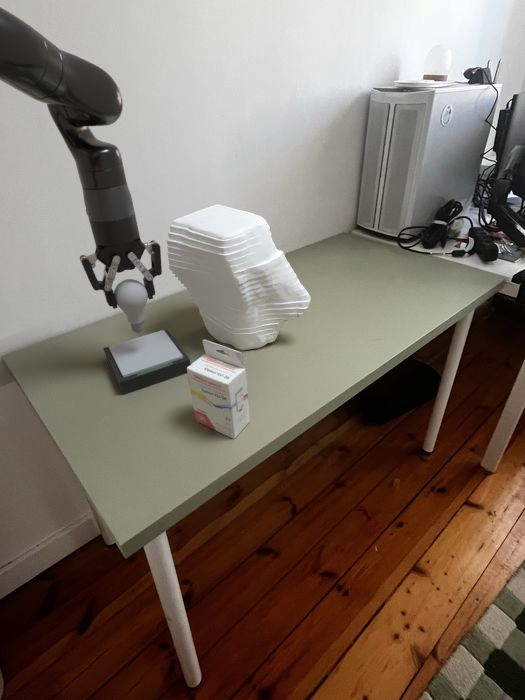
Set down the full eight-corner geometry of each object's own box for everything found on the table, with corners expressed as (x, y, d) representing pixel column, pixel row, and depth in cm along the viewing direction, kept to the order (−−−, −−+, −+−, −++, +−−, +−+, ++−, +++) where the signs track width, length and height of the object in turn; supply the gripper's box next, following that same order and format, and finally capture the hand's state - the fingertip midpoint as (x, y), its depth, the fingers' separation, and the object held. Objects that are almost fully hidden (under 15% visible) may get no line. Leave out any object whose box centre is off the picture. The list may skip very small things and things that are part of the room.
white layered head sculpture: (240, 300, 112) (231, 199, 98) (314, 341, 94) (316, 224, 80) (168, 329, 102) (146, 220, 87) (235, 382, 84) (222, 255, 69)
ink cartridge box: (194, 422, 75) (181, 352, 67) (212, 406, 78) (201, 336, 70) (234, 440, 71) (226, 367, 62) (251, 422, 74) (245, 350, 66)
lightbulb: (149, 321, 89) (138, 271, 83) (159, 333, 84) (149, 281, 78) (119, 330, 86) (106, 279, 80) (129, 343, 82) (115, 290, 76)
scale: (123, 395, 82) (118, 380, 80) (106, 359, 92) (102, 345, 90) (192, 371, 87) (189, 356, 85) (169, 340, 98) (166, 326, 96)
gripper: (70, 226, 67) (98, 321, 76) (159, 210, 72) (175, 299, 82) (63, 215, 72) (89, 304, 82) (146, 200, 78) (163, 285, 87)
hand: (132, 301), depth 82 cm, fingers closed on lightbulb, 6 cm apart
